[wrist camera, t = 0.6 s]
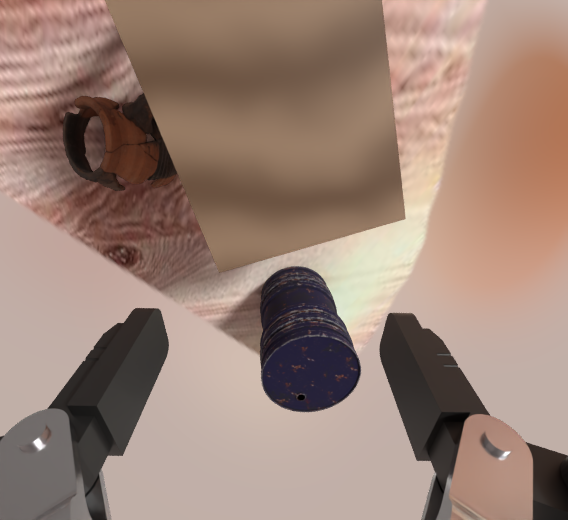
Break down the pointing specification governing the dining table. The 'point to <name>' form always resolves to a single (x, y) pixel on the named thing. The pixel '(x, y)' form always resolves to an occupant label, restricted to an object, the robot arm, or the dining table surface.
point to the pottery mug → (119, 143)
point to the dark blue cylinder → (304, 343)
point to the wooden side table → (271, 117)
